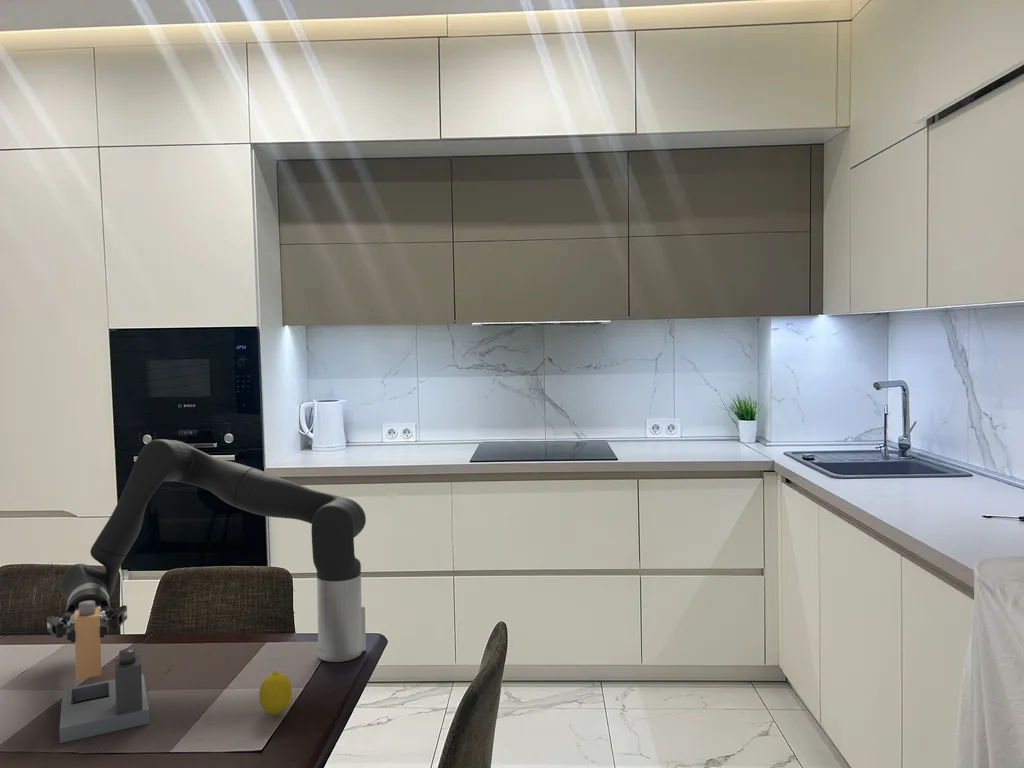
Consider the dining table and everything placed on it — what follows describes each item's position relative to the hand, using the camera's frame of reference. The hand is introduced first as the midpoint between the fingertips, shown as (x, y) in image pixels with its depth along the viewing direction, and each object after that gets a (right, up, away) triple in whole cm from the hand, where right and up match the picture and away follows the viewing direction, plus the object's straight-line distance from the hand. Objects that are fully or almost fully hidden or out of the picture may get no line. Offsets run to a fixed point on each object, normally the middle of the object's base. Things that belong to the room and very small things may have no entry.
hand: (87, 634), depth 135 cm
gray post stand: (+3, -14, +1) cm, 15 cm away
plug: (-1, -8, +3) cm, 8 cm away
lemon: (+34, -14, -1) cm, 37 cm away
